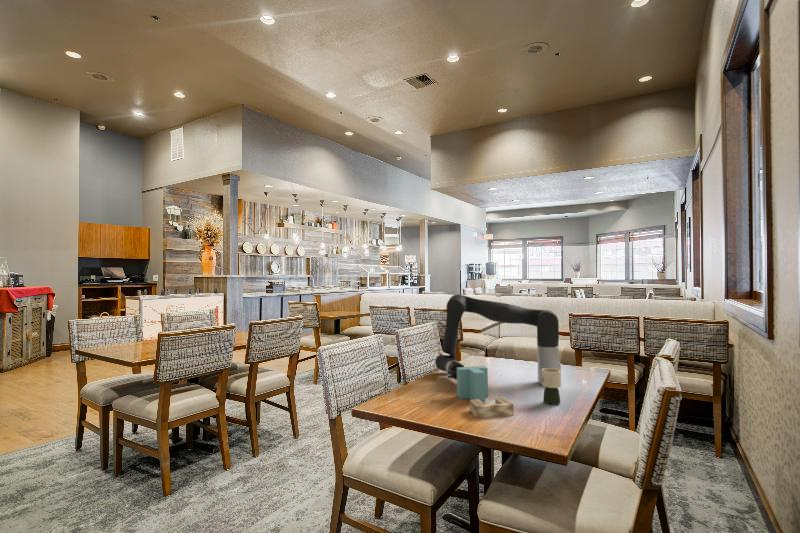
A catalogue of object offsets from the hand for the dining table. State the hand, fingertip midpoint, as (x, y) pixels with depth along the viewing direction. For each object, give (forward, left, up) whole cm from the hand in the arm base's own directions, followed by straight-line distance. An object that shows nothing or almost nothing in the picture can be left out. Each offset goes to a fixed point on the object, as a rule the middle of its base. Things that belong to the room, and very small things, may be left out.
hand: (467, 378), depth 182 cm
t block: (-1, +10, -6) cm, 11 cm away
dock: (-3, +27, -6) cm, 28 cm away
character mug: (-30, +18, -6) cm, 35 cm away
